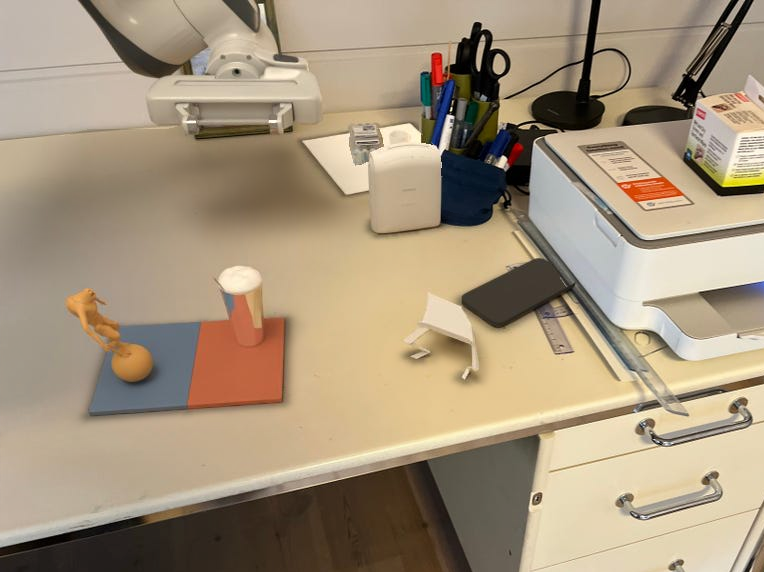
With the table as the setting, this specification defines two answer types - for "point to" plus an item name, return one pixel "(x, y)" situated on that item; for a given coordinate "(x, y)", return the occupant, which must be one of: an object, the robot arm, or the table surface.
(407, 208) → the photo printer
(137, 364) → the figurine
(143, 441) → the table surface
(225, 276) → the milkshake
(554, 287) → the phone
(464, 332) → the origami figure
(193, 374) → the sorting board
